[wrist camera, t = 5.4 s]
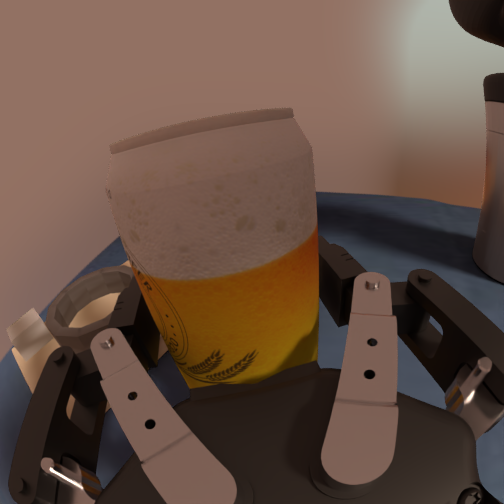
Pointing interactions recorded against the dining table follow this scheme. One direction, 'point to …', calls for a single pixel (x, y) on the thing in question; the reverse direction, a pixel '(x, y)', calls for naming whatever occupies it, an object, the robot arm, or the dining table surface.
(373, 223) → the dining table surface
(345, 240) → the dining table surface
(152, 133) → the beer can
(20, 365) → the board
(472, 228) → the dining table surface
